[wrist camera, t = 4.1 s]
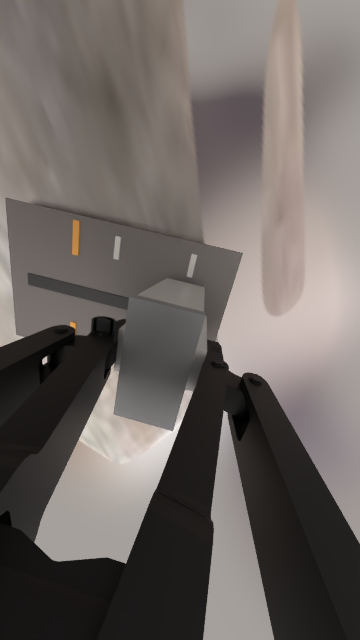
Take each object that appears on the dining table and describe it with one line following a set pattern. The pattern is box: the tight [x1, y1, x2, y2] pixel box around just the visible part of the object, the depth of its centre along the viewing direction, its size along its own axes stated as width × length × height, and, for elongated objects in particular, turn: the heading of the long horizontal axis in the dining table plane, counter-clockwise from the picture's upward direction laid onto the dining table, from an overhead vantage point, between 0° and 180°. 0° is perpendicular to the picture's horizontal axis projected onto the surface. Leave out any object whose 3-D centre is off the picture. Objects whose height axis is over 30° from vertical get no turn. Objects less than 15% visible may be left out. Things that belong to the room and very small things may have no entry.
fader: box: [114, 278, 206, 431], centre depth 14 cm, size 4×7×9 cm, turn 167°
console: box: [5, 198, 243, 341], centre depth 20 cm, size 22×14×3 cm, turn 77°
